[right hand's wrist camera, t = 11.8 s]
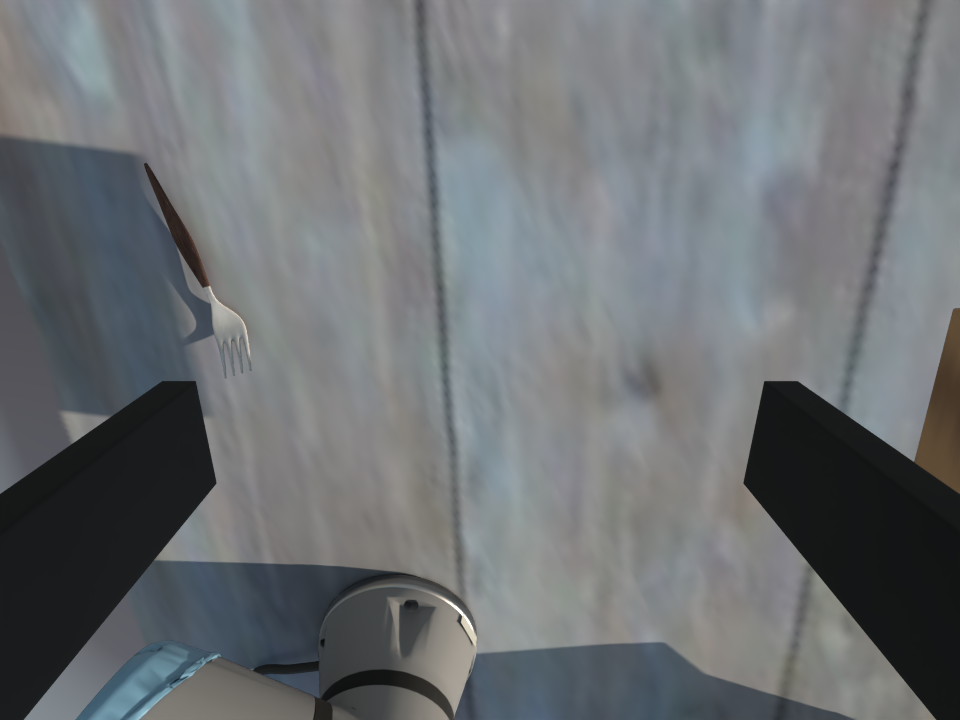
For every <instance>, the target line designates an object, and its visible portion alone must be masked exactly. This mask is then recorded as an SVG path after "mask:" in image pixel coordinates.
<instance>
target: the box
mask: <svg viewBox="0 0 960 720" xmlns="http://www.w3.org/2000/svg"><path fill="white" fill-rule="evenodd" d="M914 463H916V464H917V465H919V466H920V467H922V468H923V469H924V470H926V471H927V472H929V473H930V474H932V475H933V476H935V477H936V478H937V479H939V480H940V481H942V482H943V483H945V484H946V485H947V486H949V487H950V488H952V489H953V490H955V491H956V492H958V493H959V494H960V308H955V309H953V312H952V316H951V320H950V324H949V328H948V332H947V336H946V339H945V343H944V347H943V351H942V355H941V359H940V363H939V367H938V371H937V375H936V379H935V382H934V386H933V390H932V394H931V398H930V402H929V406H928V410H927V414H926V418H925V422H924V426H923V429H922V433H921V437H920V441H919V445H918V449H917V453H916V457H915V461H914Z"/></svg>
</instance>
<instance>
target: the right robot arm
mask: <svg viewBox="0 0 960 720" xmlns="http://www.w3.org/2000/svg"><path fill="white" fill-rule="evenodd" d="M215 485H216V478H215V473H214V468H213V463H212V459H211V454H210V449H209V444H208V439H207V434H206V429H205V425H204V420H203V415H202V410H201V405H200V400H199V395H198V390H197V386H196V381H162V382H161V383H159V384H158V385H156V386H155V387H153V388H152V389H151V390H149V391H148V392H146V393H145V394H143V395H142V396H141V397H139V398H138V399H136V400H135V401H133V402H132V403H130V404H129V405H128V406H126V407H125V408H123V409H122V410H120V411H119V412H118V413H116V414H115V415H113V416H112V417H110V418H109V419H107V420H106V421H105V422H103V423H102V424H100V425H99V426H97V427H96V428H94V429H93V430H92V431H90V432H89V433H87V434H86V435H84V436H83V437H82V438H80V439H79V440H77V441H76V442H74V443H73V444H71V445H70V446H69V447H67V448H66V449H64V450H63V451H61V452H60V453H59V454H57V455H56V456H54V457H53V458H51V459H50V460H48V461H47V462H46V463H44V464H43V465H41V466H40V467H38V468H37V469H36V470H34V471H33V472H31V473H30V474H28V475H27V476H26V477H24V478H23V479H21V480H20V481H18V482H17V483H15V484H14V485H13V486H11V487H10V488H8V489H7V490H5V491H4V492H3V493H1V494H0V720H24V719H25V717H26V716H27V715H28V714H29V713H30V711H31V710H32V709H33V708H34V706H35V705H36V704H37V703H38V701H39V700H40V699H41V698H42V697H43V695H44V694H45V693H46V692H47V690H48V689H49V688H50V687H51V686H52V684H53V683H54V682H55V681H56V679H57V678H58V677H59V676H60V675H61V673H62V672H63V671H64V670H65V668H66V667H67V666H68V665H69V663H70V662H71V661H72V660H73V659H74V657H75V656H76V655H77V654H78V652H79V651H80V650H81V649H82V648H83V646H84V645H85V644H86V643H87V641H88V640H89V639H90V638H91V637H92V635H93V634H94V633H95V632H96V630H97V629H98V628H99V627H100V625H101V624H102V623H103V622H104V621H105V619H106V618H107V617H108V616H109V614H110V613H111V612H112V611H113V610H114V608H115V607H116V606H117V605H118V603H119V602H120V601H121V600H122V599H123V597H124V596H125V595H126V594H127V592H128V591H129V590H130V589H131V588H132V586H133V585H134V584H135V583H136V581H137V580H138V579H139V578H140V576H141V575H142V574H143V573H144V572H145V570H146V569H147V568H148V567H149V565H150V564H151V563H152V562H153V561H154V559H155V558H156V557H157V556H158V554H159V553H160V552H161V551H162V550H163V548H164V547H165V546H166V545H167V543H168V542H169V541H170V540H171V538H172V537H173V536H174V535H175V534H176V532H177V531H178V530H179V529H180V527H181V526H182V525H183V524H184V523H185V521H186V520H187V519H188V518H189V516H190V515H191V514H192V513H193V512H194V510H195V509H196V508H197V507H198V505H199V504H200V503H201V502H202V501H203V499H204V498H205V497H206V496H207V494H208V493H209V492H210V491H211V489H212V488H213V487H214V486H215ZM744 485H745V486H746V487H747V488H748V489H749V491H750V492H751V493H752V494H753V496H754V497H755V498H756V499H757V501H758V502H759V503H760V504H761V505H762V507H763V508H764V509H765V510H766V512H767V513H768V514H769V515H770V516H771V518H772V519H773V520H774V521H775V523H776V524H777V525H778V526H779V527H780V529H781V530H782V531H783V532H784V534H785V535H786V536H787V537H788V538H789V540H790V541H791V542H792V543H793V545H794V546H795V547H796V548H797V550H798V551H799V552H800V553H801V554H802V556H803V557H804V558H805V559H806V561H807V562H808V563H809V564H810V565H811V567H812V568H813V569H814V570H815V572H816V573H817V574H818V575H819V576H820V578H821V579H822V580H823V581H824V583H825V584H826V585H827V586H828V588H829V589H830V590H831V591H832V592H833V594H834V595H835V596H836V597H837V599H838V600H839V601H840V602H841V603H842V605H843V606H844V607H845V608H846V610H847V611H848V612H849V613H850V614H851V616H852V617H853V618H854V619H855V621H856V622H857V623H858V624H859V626H860V627H861V628H862V629H863V630H864V632H865V633H866V634H867V635H868V637H869V638H870V639H871V640H872V641H873V643H874V644H875V645H876V646H877V648H878V649H879V650H880V651H881V652H882V654H883V655H884V656H885V657H886V659H887V660H888V661H889V662H890V664H891V665H892V666H893V667H894V668H895V670H896V671H897V672H898V673H899V675H900V676H901V677H902V678H903V679H904V681H905V682H906V683H907V684H908V686H909V687H910V688H911V689H912V690H913V692H914V693H915V694H916V695H917V697H918V698H919V699H920V700H921V701H922V703H923V704H924V705H925V706H926V708H927V709H928V710H929V711H930V713H931V714H932V715H933V716H934V717H935V719H936V720H960V494H959V493H958V492H956V491H955V490H953V489H952V488H950V487H949V486H947V485H946V484H945V483H943V482H942V481H940V480H939V479H937V478H936V477H935V476H933V475H932V474H930V473H929V472H927V471H926V470H924V469H923V468H922V467H920V466H919V465H917V464H916V463H914V462H913V461H912V460H910V459H909V458H907V457H906V456H904V455H903V454H901V453H900V452H899V451H897V450H896V449H894V448H893V447H891V446H890V445H889V444H887V443H886V442H884V441H883V440H881V439H880V438H878V437H877V436H876V435H874V434H873V433H871V432H870V431H868V430H867V429H866V428H864V427H863V426H861V425H860V424H858V423H857V422H855V421H854V420H853V419H851V418H850V417H848V416H847V415H845V414H844V413H842V412H841V411H840V410H838V409H837V408H835V407H834V406H832V405H831V404H830V403H828V402H827V401H825V400H824V399H822V398H821V397H819V396H818V395H817V394H815V393H814V392H812V391H811V390H809V389H808V388H807V387H805V386H804V385H802V384H801V383H799V382H798V381H764V386H763V390H762V395H761V400H760V405H759V410H758V415H757V420H756V425H755V429H754V434H753V439H752V444H751V449H750V454H749V459H748V463H747V468H746V473H745V478H744ZM476 640H477V636H476V626H475V622H474V620H473V617H472V615H471V613H470V611H469V610H468V608H467V607H466V605H465V604H464V603H463V602H462V601H461V600H460V599H459V598H458V597H457V596H456V595H455V594H453V593H452V592H451V591H449V590H448V589H446V588H445V587H443V586H441V585H439V584H437V583H435V582H432V581H429V580H426V579H423V578H419V577H415V576H409V575H383V576H377V577H372V578H369V579H366V580H363V581H360V582H358V583H356V584H354V585H352V586H350V587H348V588H347V589H345V590H344V591H343V592H342V593H340V594H339V595H338V596H337V597H336V598H335V599H334V601H333V602H332V603H331V605H330V606H329V608H328V610H327V612H326V615H325V618H324V621H323V623H322V626H321V630H320V633H319V643H318V655H319V661H316V662H308V663H300V664H291V665H279V664H268V665H262V666H259V667H257V668H255V669H254V670H253V671H252V670H250V669H247V668H245V667H243V666H240V665H238V664H236V663H234V662H231V661H229V660H227V659H224V658H222V657H221V654H219V653H217V652H212V653H209V652H206V651H203V650H200V649H197V648H194V647H191V646H187V645H185V644H182V643H179V642H176V641H171V640H165V641H159V642H155V643H153V644H150V645H148V646H147V647H145V648H143V649H142V650H140V651H139V652H138V653H137V654H135V655H134V656H133V657H132V658H131V659H130V660H129V661H128V662H127V663H126V664H125V665H124V666H123V667H122V668H121V669H120V670H119V671H118V672H117V673H116V674H115V675H114V676H113V677H112V678H111V679H110V680H109V682H108V683H107V684H106V685H105V686H104V687H103V688H102V689H101V690H100V692H99V693H98V694H97V695H96V696H95V697H94V698H93V700H92V701H91V702H90V703H89V704H88V705H87V707H86V708H85V709H84V710H83V711H82V712H81V714H80V715H79V716H78V717H77V718H76V720H454V717H455V713H456V710H457V707H458V704H459V701H460V698H461V695H462V692H463V689H464V686H465V683H466V681H467V680H468V678H469V676H470V673H471V671H472V668H473V665H474V661H475V657H476ZM312 671H319V686H320V699H319V698H317V697H314V696H313V695H311V694H308V693H306V692H303V691H301V690H298V689H296V688H293V687H291V686H289V685H286V684H284V683H281V682H279V681H276V680H274V679H271V678H269V677H267V676H264V674H295V673H304V672H312Z"/></svg>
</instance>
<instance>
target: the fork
mask: <svg viewBox="0 0 960 720" xmlns="http://www.w3.org/2000/svg"><path fill="white" fill-rule="evenodd" d="M144 166H145V169H146V172H147V174H148V177H149V180H150V182H151V185H152V187H153V190H154V192H155V194H156V197H157V199H158V202H159V204H160V206H161V209H162V211H163V214H164V217H165V219H166V222H167V224H168V227H169V229H170V232H171V234H172V237H173V239H174V241H175V243H176V245H177V247H178V249H179V251H180V252H181V254H182V256H183V257H184V259H185V261H186V262H187V264H188V265H189V267H190V268H191V270H192V272H193V273H194V275H195V276H196V278H197V279H198V281H199V283H200V284H201V286H202V287H203V289H204V291H205V292H206V294H207V296H208V298H209V300H210V303H211V310H212V326H213V331H214V335H215V338H216V341H217V344H218V347H219V351H220V356H221V360H222V365H223V371H224V378H226V366H225V356H224V348H223V344H224V343H226V345H227V348H228V352H229V357H230V362H231V367H232V372H233V376H235V372H234V361H233V352H232V340H234V342H235V345H236V349H237V353H238V358H239V363H240V368H241V373H243V366H242V356H241V348H240V338H242V339H243V341H244V345H245V349H246V354H247V358H248V363H249V370H250V371H251V360H250V351H249V343H248V337H247V331H246V327H245V324H244V322H243V320H242V319H241V318H240V317H239V316H238V315H237V314H236V313H235V312H233V311H232V310H230V309H229V308H227V307H226V306H224V305H223V304H221V303H220V302H219V301H218V300H217V299H216V298H215V296H214V295H213V293H212V290H211V288H210V285H209V282H208V279H207V277H206V274H205V271H204V268H203V265H202V262H201V260H200V257H199V254H198V252H197V249H196V247H195V244H194V242H193V240H192V238H191V236H190V234H189V233H188V231H187V229H186V228H185V226H184V224H183V223H182V221H181V219H180V218H179V216H178V215H177V213H176V211H175V210H174V208H173V206H172V205H171V203H170V201H169V199H168V198H167V196H166V194H165V192H164V191H163V189H162V187H161V185H160V184H159V182H158V180H157V179H156V177H155V175H154V174H153V172H152V170H151V169H150V167H149V166H148V164H147V163H145V164H144Z"/></svg>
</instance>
